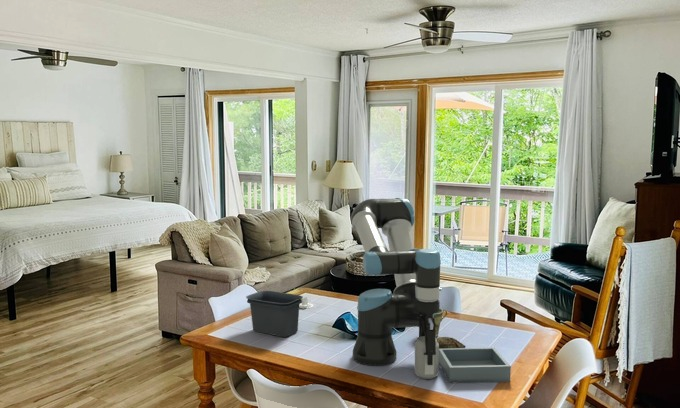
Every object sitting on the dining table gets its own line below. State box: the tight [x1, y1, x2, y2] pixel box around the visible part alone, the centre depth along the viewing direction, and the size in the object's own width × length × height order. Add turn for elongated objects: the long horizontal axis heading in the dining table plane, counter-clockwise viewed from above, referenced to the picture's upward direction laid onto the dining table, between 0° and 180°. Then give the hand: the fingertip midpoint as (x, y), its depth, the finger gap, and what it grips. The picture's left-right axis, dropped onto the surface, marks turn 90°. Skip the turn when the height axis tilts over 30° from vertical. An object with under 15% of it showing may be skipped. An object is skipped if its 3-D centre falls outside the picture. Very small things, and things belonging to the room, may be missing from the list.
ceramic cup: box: [433, 307, 448, 338], centre depth 214 cm, size 13×10×10 cm
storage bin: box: [245, 290, 304, 338], centre depth 219 cm, size 21×16×14 cm
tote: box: [439, 347, 512, 384], centre depth 179 cm, size 19×16×5 cm
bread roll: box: [435, 336, 467, 349], centre depth 199 cm, size 13×12×5 cm
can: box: [414, 336, 440, 380], centre depth 176 cm, size 8×8×12 cm
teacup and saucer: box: [299, 296, 314, 309], centre depth 254 cm, size 9×8×4 cm
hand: (426, 368), depth 176 cm, fingers closed on can, 7 cm apart
